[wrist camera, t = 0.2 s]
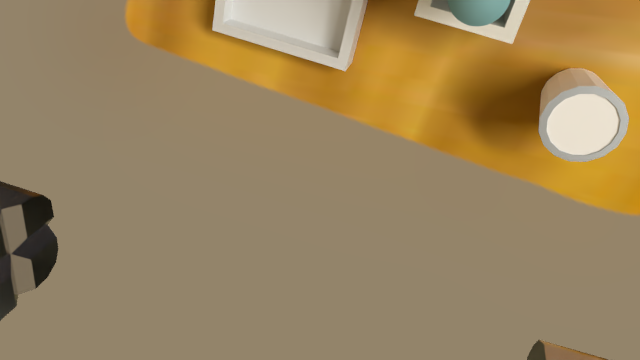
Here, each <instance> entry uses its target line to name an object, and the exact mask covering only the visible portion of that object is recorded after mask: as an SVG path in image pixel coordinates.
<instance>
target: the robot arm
mask: <svg viewBox="0 0 640 360" xmlns="http://www.w3.org/2000/svg"><path fill="white" fill-rule="evenodd" d="M53 217H54V215H53V209H52V203H51V200H50V199H48V198H47V197H45V196H44V195H41V194H38V193H35V192H32V191H29V190H26V189H23V188H20V187H16V186H13V185H10V184H7V183H4V182H1V181H0V320H1V319H3V318H4V317H5V316H6V315H7V314H8V313H9V312H10V311H11V310H13V309H14V308H15V307H16V306H17V299H18V295H19V294H22V293H25V292H27V291H30V290H33V289H36V288H37V287H38V286H39V285H40V284H41V283H42V282H43V281H44V280H45V279H46V278H47V277H48V276H49V274H50V272H51V270H52V268H53V267H54V265H55V263H56V259H57V253H58V243H57V237H56V236H55V234H54V233H53V232H52V230H51V229H50V227H49V226H48V224H49V222H50V221H51V220H52V219H53ZM527 360H608V359H605V358H602V357H598V356H595V355H591V354H588V353H584V352H580V351H577V350H574V349H570V348H566V347H563V346H559V345H556V344H552V343H549V342H545V341H542V340H538V341H537V342H536V343H535V344H534V345H533V347H532V349H531V351H530V353H529V355H528V357H527Z"/></svg>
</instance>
